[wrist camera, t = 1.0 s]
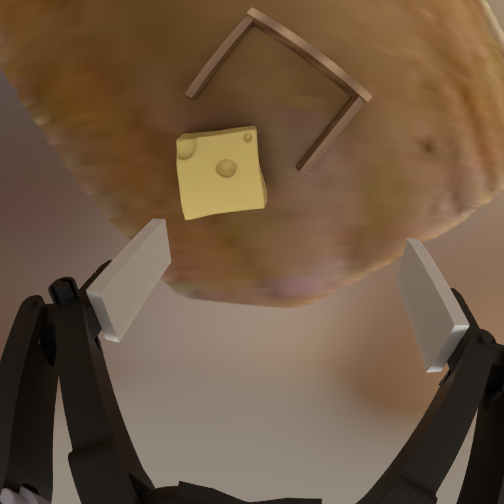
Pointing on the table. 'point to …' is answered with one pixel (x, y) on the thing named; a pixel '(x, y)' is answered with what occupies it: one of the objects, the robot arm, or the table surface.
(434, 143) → the table surface
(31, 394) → the robot arm
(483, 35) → the table surface
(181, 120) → the table surface
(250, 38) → the table surface
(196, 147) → the cheese
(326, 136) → the brown wooden u frame
